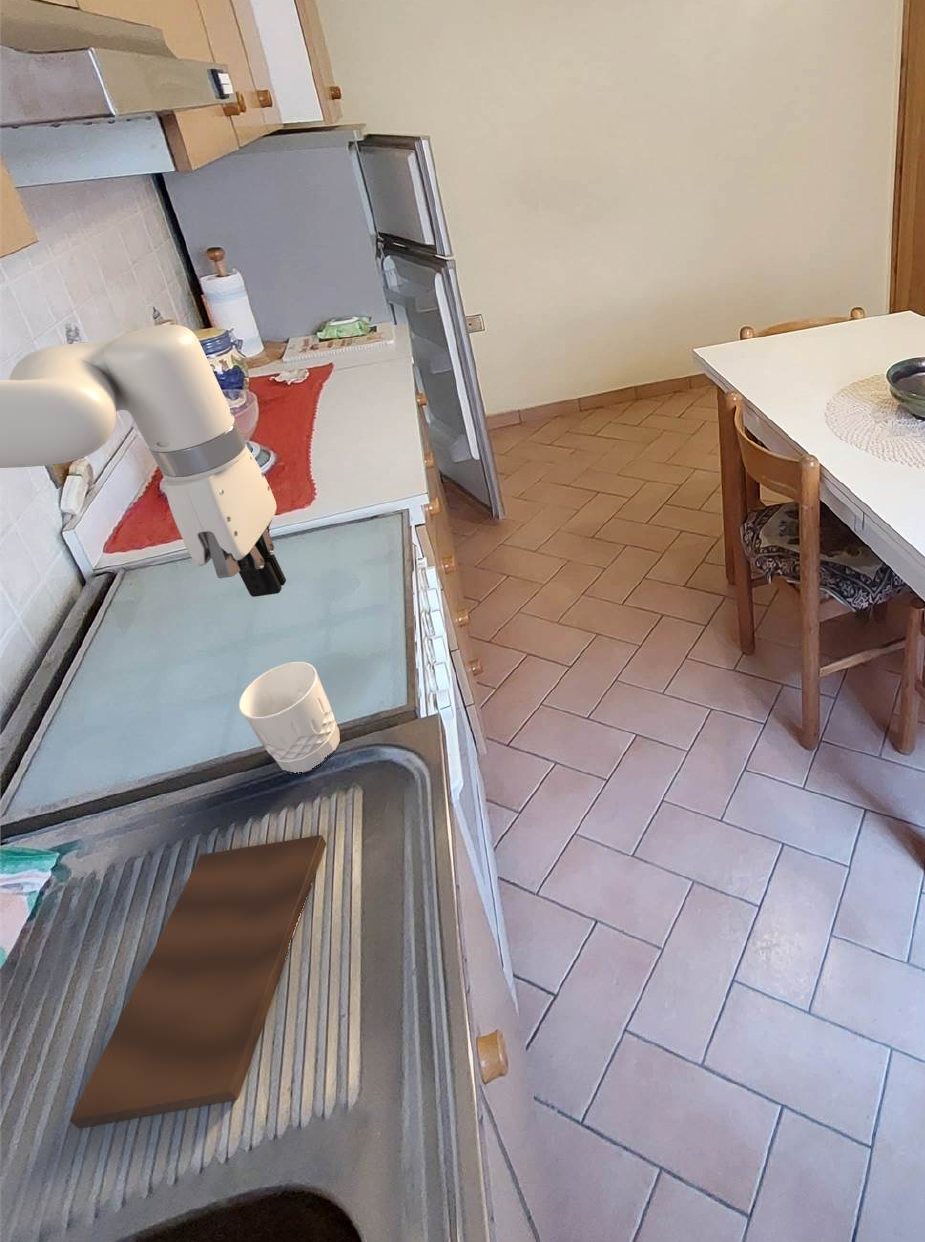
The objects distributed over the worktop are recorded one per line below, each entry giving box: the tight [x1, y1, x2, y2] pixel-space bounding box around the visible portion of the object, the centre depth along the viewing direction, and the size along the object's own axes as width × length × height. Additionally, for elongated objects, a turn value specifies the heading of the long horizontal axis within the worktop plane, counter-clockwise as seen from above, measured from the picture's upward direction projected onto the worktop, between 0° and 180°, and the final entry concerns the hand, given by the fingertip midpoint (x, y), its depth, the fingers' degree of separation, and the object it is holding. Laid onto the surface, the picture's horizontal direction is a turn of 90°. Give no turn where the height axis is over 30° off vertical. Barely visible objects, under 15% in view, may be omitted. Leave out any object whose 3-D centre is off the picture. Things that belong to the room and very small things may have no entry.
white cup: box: [238, 661, 341, 774], centre depth 86 cm, size 8×8×10 cm
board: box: [69, 834, 327, 1129], centre depth 68 cm, size 21×12×2 cm, turn 6°
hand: (269, 589), depth 84 cm, fingers closed
